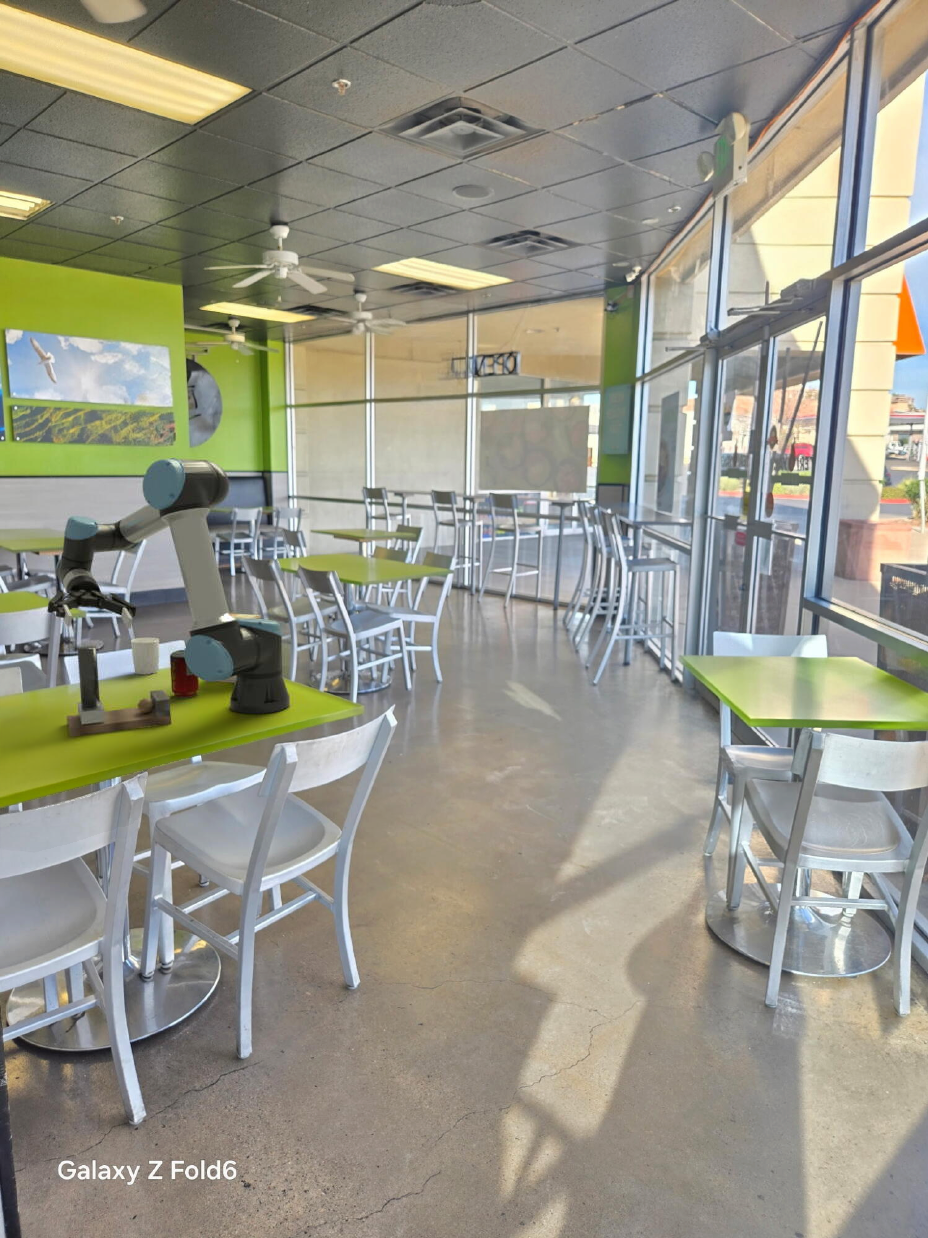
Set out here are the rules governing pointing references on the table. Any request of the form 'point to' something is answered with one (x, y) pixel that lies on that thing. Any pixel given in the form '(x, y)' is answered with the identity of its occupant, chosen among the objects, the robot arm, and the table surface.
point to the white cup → (145, 655)
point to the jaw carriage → (89, 687)
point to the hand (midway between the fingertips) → (100, 622)
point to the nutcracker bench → (127, 717)
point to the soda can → (182, 676)
